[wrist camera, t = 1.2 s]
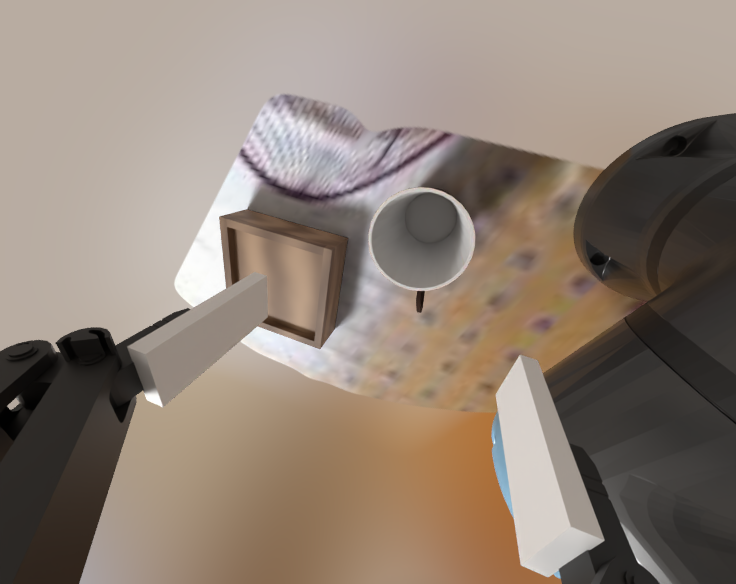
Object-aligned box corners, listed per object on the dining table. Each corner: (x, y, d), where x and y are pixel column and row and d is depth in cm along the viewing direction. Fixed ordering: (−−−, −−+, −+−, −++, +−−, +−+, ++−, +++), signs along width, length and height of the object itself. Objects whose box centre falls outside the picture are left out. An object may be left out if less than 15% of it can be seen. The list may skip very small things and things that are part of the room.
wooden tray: (347, 238, 35) (332, 250, 30) (334, 329, 42) (320, 349, 38) (246, 209, 37) (219, 216, 33) (251, 300, 45) (229, 315, 40)
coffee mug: (413, 162, 29) (393, 167, 20) (488, 198, 28) (499, 218, 19) (372, 255, 35) (343, 288, 26) (432, 286, 34) (423, 330, 26)
